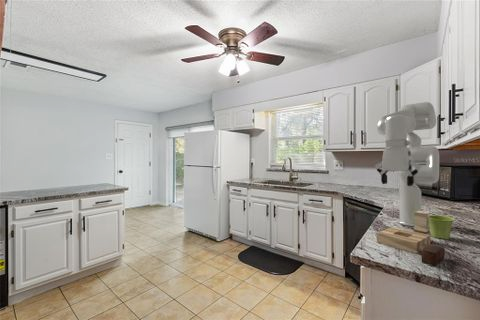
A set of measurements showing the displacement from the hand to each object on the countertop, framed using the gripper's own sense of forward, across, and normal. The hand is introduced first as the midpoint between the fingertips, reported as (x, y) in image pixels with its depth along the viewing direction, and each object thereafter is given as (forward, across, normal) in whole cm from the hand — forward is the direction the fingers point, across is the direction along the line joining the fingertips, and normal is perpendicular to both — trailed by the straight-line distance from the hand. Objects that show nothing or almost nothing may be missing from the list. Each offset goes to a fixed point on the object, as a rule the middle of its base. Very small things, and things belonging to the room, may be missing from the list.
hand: (396, 184), depth 97 cm
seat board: (+24, -3, +2) cm, 24 cm away
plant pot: (+24, -8, -20) cm, 33 cm away
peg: (+24, -6, -9) cm, 26 cm away
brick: (+24, -16, +11) cm, 31 cm away
